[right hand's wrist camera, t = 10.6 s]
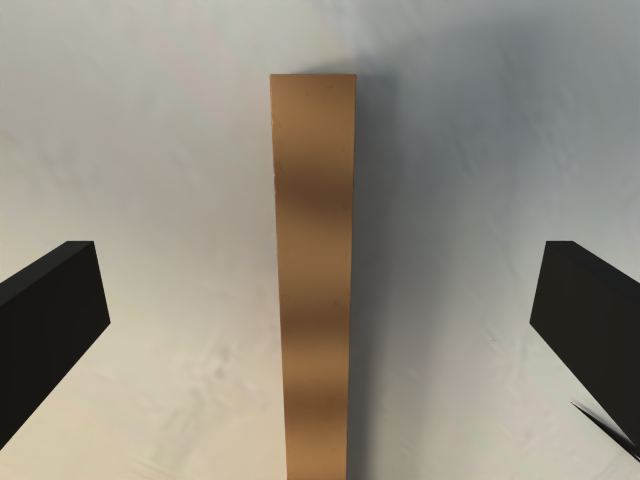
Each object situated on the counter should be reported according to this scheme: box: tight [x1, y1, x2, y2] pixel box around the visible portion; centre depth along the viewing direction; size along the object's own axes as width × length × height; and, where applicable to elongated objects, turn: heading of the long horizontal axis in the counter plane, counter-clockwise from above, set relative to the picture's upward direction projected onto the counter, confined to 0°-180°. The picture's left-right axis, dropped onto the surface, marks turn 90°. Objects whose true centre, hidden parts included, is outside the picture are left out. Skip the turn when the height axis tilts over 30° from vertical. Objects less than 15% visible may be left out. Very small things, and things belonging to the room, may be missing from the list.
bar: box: [270, 74, 356, 480], centre depth 37 cm, size 64×5×8 cm, turn 0°
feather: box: [492, 341, 640, 462], centre depth 40 cm, size 2×28×2 cm
